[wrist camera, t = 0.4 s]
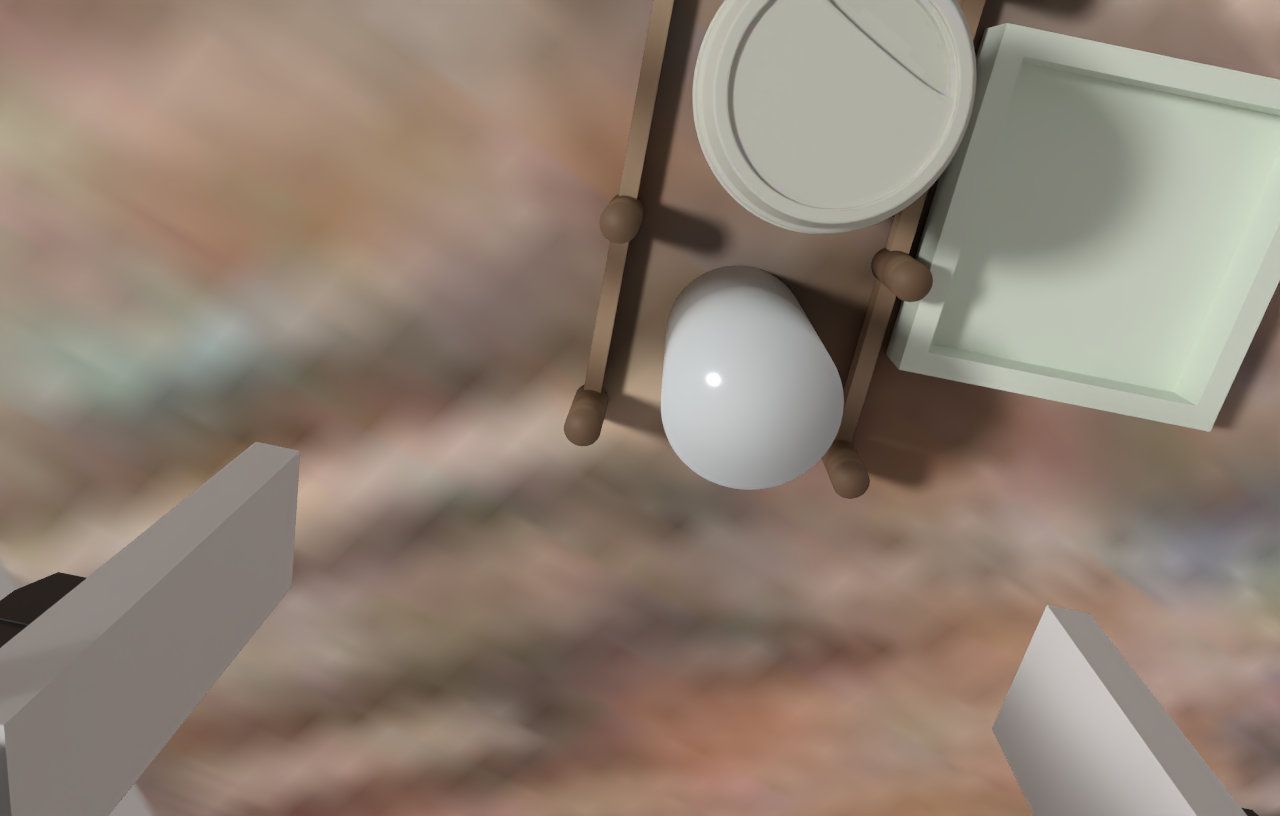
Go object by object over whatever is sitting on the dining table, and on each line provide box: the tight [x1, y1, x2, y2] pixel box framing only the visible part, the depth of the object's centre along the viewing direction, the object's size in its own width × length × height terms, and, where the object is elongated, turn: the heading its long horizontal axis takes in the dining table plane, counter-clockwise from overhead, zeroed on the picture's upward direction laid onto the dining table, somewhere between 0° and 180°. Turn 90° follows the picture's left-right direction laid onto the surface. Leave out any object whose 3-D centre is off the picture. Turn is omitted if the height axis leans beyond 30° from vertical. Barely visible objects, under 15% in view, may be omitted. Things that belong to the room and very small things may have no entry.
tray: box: [886, 23, 1280, 432], centre depth 35 cm, size 14×14×2 cm
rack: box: [564, 0, 986, 499], centre depth 34 cm, size 32×14×4 cm, turn 169°
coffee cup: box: [693, 0, 976, 234], centre depth 30 cm, size 8×9×12 cm
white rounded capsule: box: [661, 266, 844, 490], centre depth 34 cm, size 6×6×10 cm
